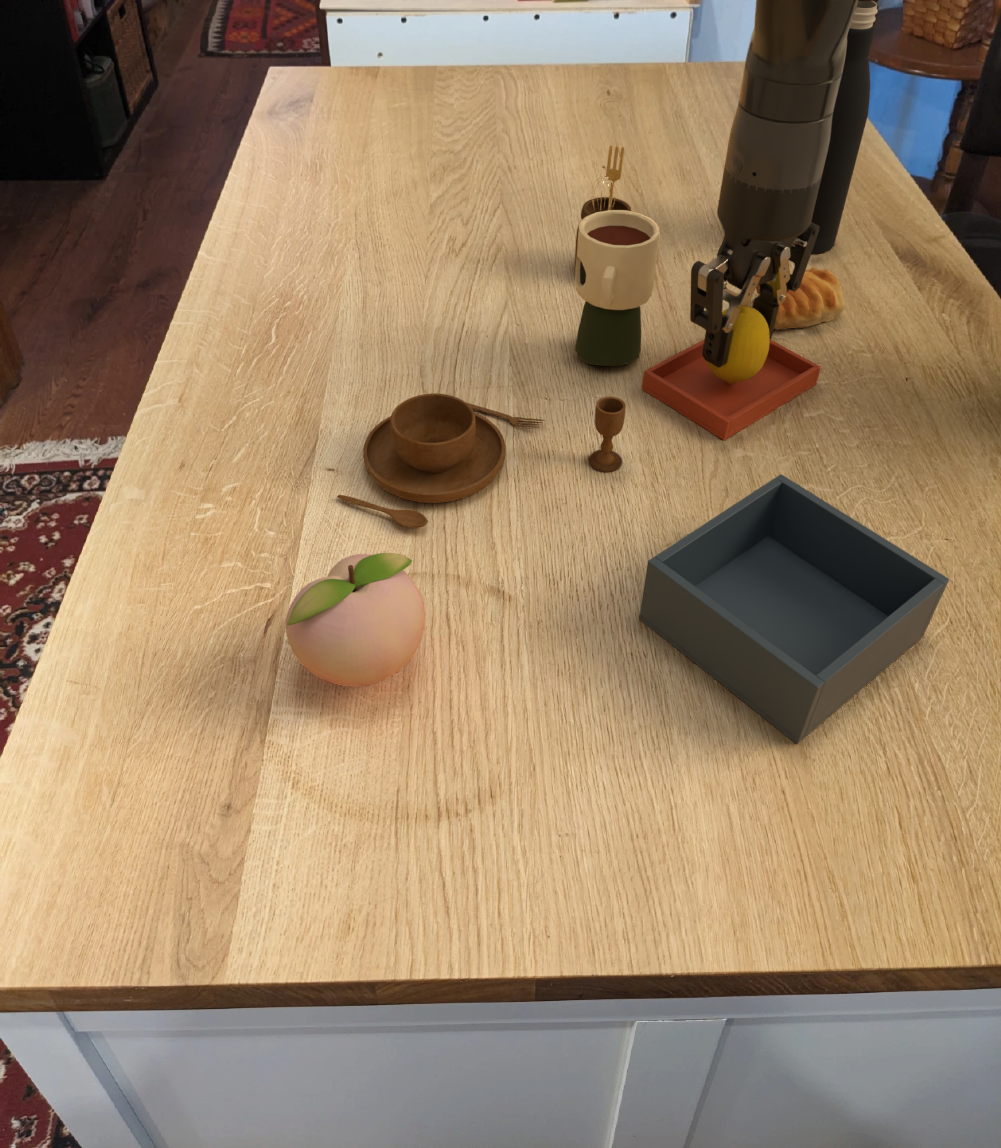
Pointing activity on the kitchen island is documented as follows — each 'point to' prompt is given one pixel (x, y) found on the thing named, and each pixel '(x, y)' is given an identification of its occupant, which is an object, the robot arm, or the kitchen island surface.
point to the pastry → (811, 301)
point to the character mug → (614, 284)
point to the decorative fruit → (358, 620)
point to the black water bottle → (845, 127)
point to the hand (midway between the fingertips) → (737, 349)
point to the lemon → (745, 347)
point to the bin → (789, 603)
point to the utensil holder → (605, 202)
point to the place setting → (454, 450)
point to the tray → (728, 388)
